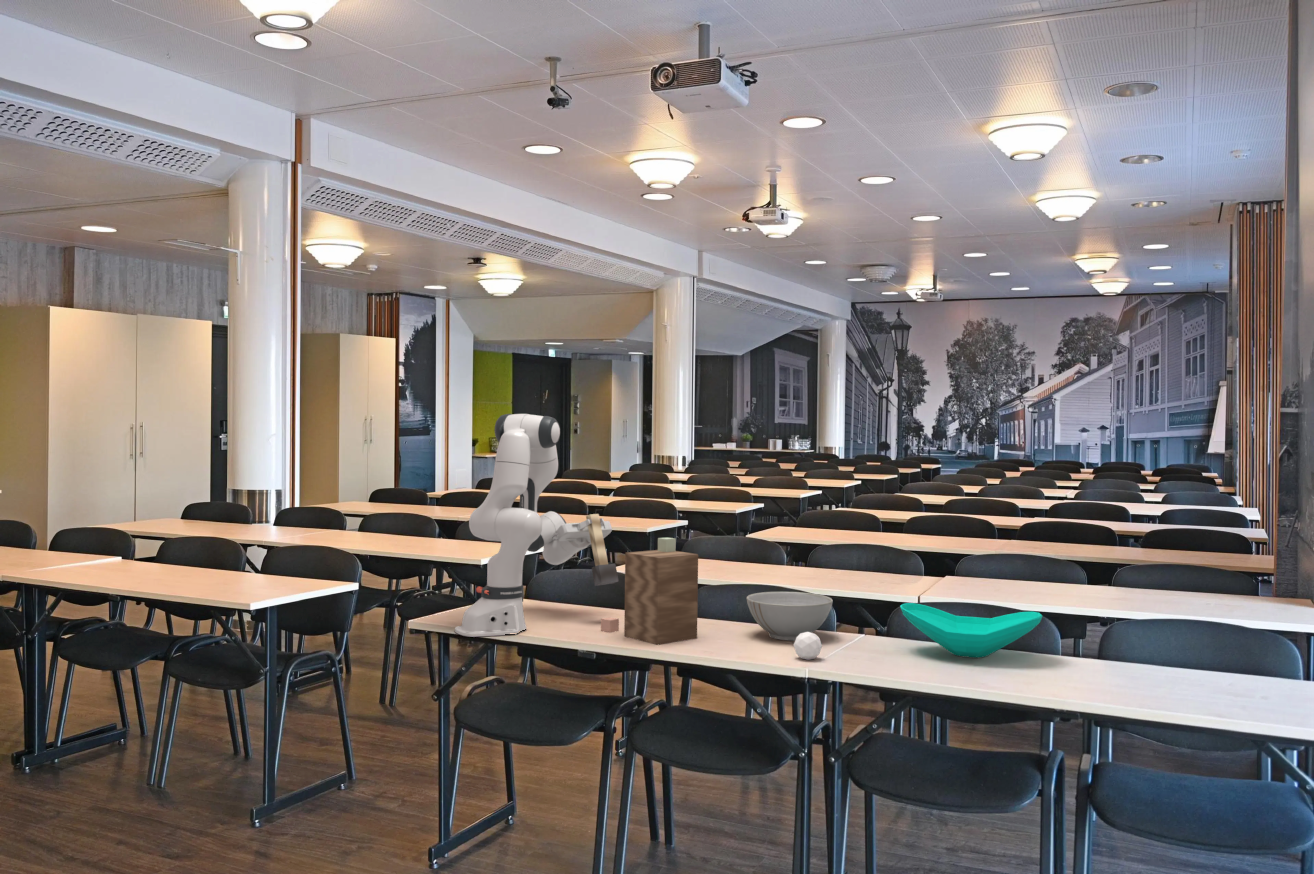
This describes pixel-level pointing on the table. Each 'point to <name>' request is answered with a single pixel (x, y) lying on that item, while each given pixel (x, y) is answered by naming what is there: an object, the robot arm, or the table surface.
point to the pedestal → (661, 596)
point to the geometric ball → (807, 645)
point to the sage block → (666, 544)
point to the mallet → (600, 555)
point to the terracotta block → (609, 624)
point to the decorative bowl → (789, 612)
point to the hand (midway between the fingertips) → (596, 520)
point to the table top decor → (970, 629)
